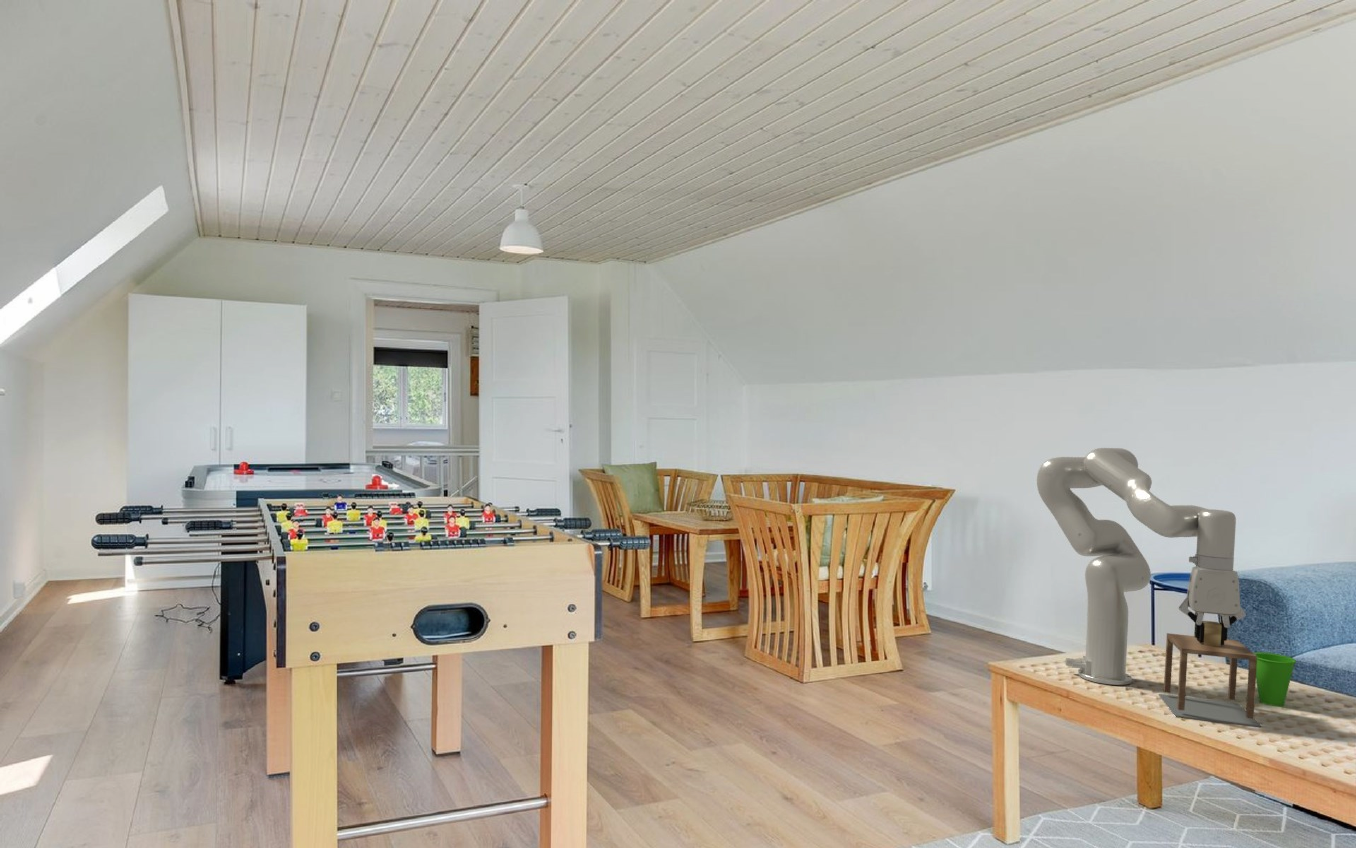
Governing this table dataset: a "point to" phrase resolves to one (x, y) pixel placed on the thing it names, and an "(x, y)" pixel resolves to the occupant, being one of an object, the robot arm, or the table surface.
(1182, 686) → the cover
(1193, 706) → the mat
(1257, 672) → the cup
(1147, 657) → the table surface
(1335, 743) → the table surface
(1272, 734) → the table surface
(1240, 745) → the table surface
